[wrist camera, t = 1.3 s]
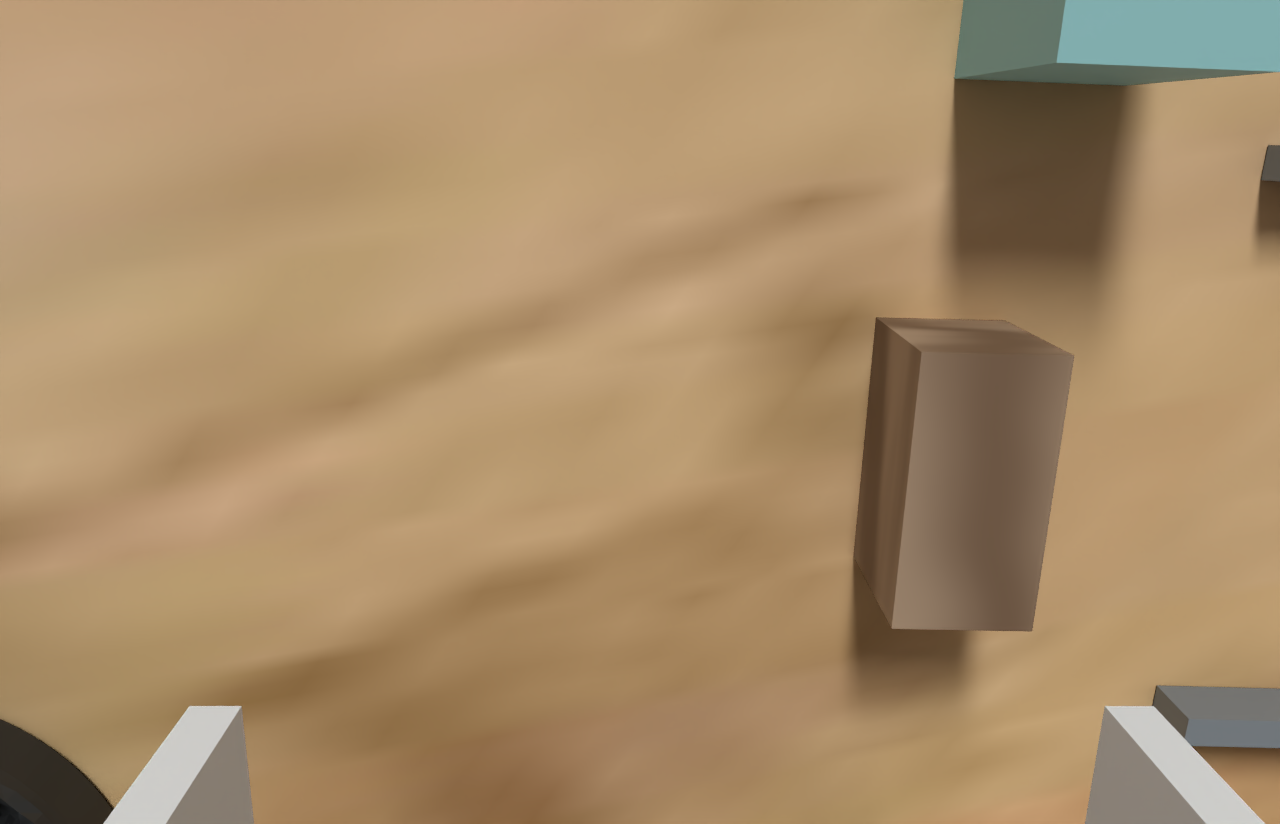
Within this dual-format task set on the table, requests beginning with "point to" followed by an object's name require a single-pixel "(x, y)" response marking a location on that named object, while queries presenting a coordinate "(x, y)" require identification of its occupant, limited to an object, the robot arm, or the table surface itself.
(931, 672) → the table surface
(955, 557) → the walnut block
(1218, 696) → the slot rack
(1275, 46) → the teal block
